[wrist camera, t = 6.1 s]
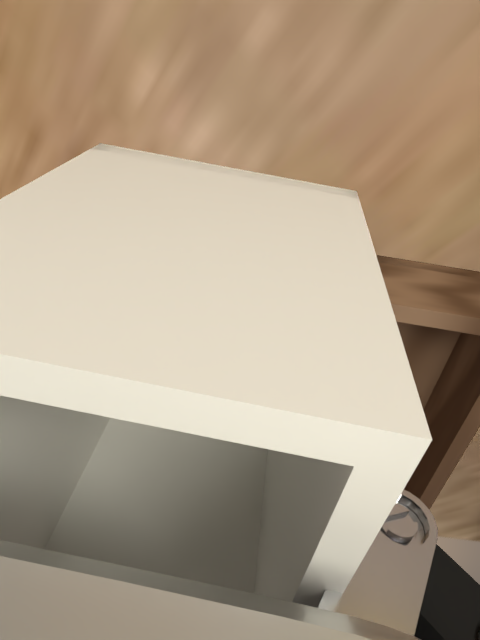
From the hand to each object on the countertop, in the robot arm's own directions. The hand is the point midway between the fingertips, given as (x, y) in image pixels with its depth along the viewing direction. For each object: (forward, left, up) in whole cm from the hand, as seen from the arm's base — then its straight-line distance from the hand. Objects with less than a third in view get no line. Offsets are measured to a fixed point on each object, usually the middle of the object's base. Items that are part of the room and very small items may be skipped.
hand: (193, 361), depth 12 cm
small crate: (0, 0, -2) cm, 2 cm away
